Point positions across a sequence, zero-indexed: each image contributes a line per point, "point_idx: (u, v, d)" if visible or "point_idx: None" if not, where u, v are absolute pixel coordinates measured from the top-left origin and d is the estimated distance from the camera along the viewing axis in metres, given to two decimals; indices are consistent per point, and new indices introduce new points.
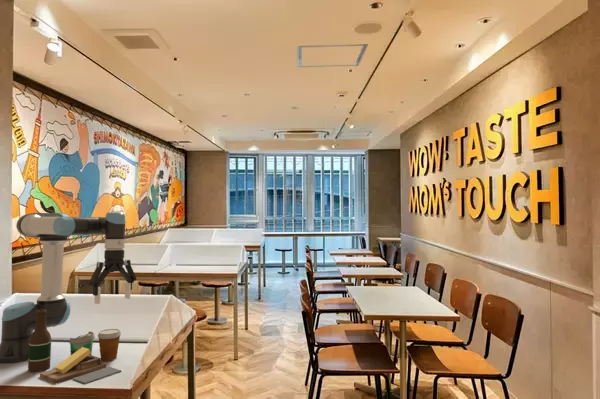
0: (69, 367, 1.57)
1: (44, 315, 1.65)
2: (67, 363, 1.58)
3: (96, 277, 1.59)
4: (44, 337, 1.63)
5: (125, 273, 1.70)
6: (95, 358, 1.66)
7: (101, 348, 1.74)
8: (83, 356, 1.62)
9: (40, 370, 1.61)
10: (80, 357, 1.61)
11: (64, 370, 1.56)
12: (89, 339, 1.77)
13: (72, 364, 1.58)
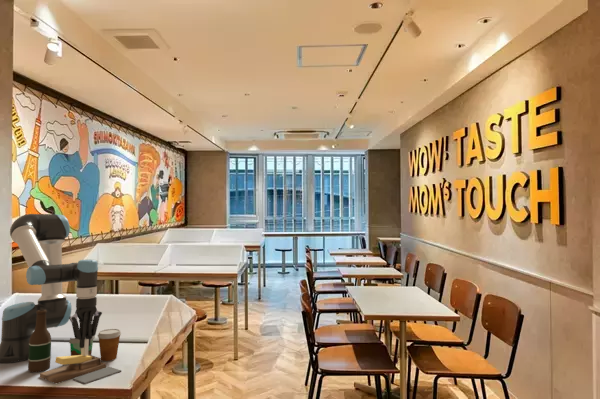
0: (69, 362, 1.57)
1: (44, 315, 1.65)
2: (69, 358, 1.59)
3: (77, 331, 1.62)
4: (44, 337, 1.63)
5: (90, 325, 1.66)
6: (95, 358, 1.66)
7: (101, 348, 1.74)
8: (84, 360, 1.63)
9: (40, 370, 1.61)
10: (81, 359, 1.62)
11: (64, 361, 1.56)
12: None
13: (73, 361, 1.59)
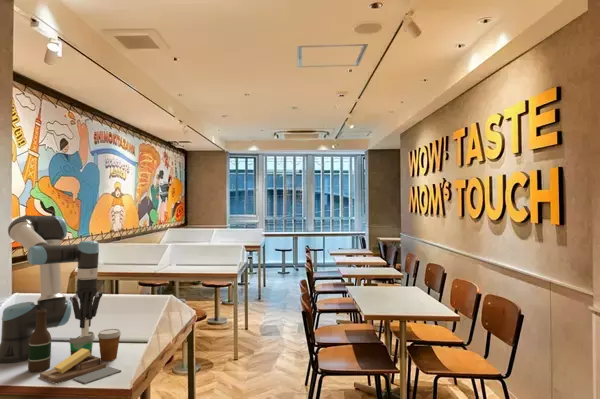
0: (68, 367, 1.57)
1: (44, 315, 1.65)
2: (66, 363, 1.58)
3: (78, 311, 1.62)
4: (44, 337, 1.63)
5: (90, 306, 1.67)
6: (95, 358, 1.66)
7: (101, 348, 1.74)
8: (83, 357, 1.62)
9: (40, 370, 1.61)
10: (80, 358, 1.61)
11: (63, 370, 1.55)
12: (89, 339, 1.77)
13: (71, 364, 1.58)
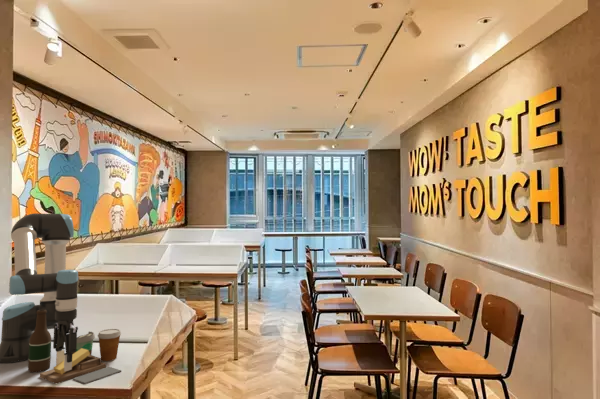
0: None
1: (44, 315, 1.65)
2: None
3: (54, 339, 1.61)
4: (44, 337, 1.63)
5: (65, 340, 1.56)
6: (95, 358, 1.66)
7: (101, 348, 1.74)
8: (82, 357, 1.62)
9: (40, 370, 1.61)
10: (79, 358, 1.61)
11: (63, 370, 1.55)
12: (89, 339, 1.77)
13: None
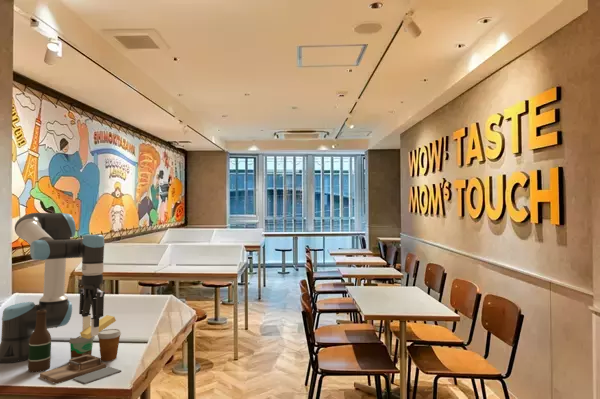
0: None
1: (44, 315, 1.65)
2: None
3: (80, 305, 1.58)
4: (44, 337, 1.63)
5: (92, 304, 1.54)
6: (95, 358, 1.66)
7: (101, 348, 1.74)
8: (108, 323, 1.60)
9: (40, 370, 1.61)
10: (105, 324, 1.59)
11: (90, 335, 1.53)
12: (89, 339, 1.77)
13: None
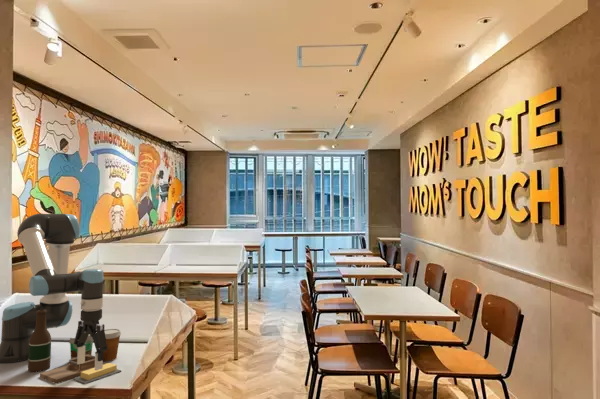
0: (95, 375, 1.55)
1: (44, 315, 1.65)
2: (94, 371, 1.56)
3: (76, 335, 1.59)
4: (44, 337, 1.63)
5: (94, 339, 1.53)
6: None
7: None
8: (109, 370, 1.60)
9: (40, 370, 1.61)
10: (107, 370, 1.59)
11: (90, 376, 1.53)
12: (89, 339, 1.77)
13: (98, 373, 1.56)
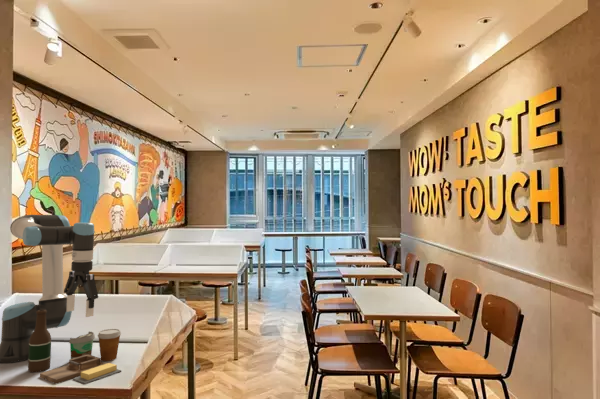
0: (95, 375, 1.55)
1: (44, 315, 1.65)
2: (94, 371, 1.56)
3: (66, 285, 1.65)
4: (44, 337, 1.63)
5: (84, 288, 1.58)
6: (95, 358, 1.66)
7: (101, 348, 1.74)
8: (109, 370, 1.60)
9: (40, 370, 1.61)
10: (107, 370, 1.59)
11: (90, 376, 1.53)
12: (89, 339, 1.77)
13: (98, 373, 1.56)
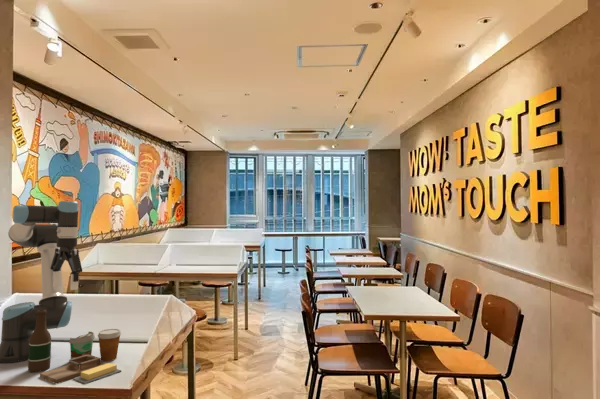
0: (95, 375, 1.55)
1: (44, 315, 1.65)
2: (94, 371, 1.56)
3: (52, 261, 1.72)
4: (44, 337, 1.63)
5: (69, 263, 1.65)
6: (95, 358, 1.66)
7: (101, 348, 1.74)
8: (109, 370, 1.60)
9: (40, 370, 1.61)
10: (107, 370, 1.59)
11: (90, 376, 1.53)
12: (89, 339, 1.77)
13: (98, 373, 1.56)
